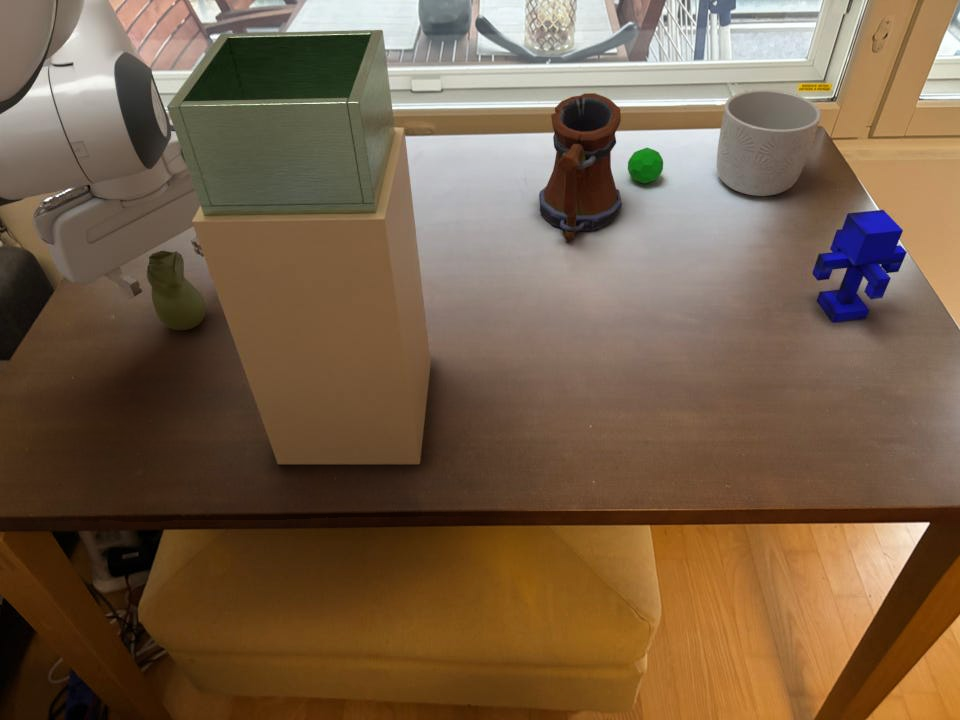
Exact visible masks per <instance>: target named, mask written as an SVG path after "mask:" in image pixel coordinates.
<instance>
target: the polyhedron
mask: <svg viewBox="0 0 960 720" xmlns="http://www.w3.org/2000/svg"><path fill="white" fill-rule="evenodd" d="M663 170H664V160H663V157H662V156H661V153H660V152H659V151H657V150H656V149H652V148H650V147H644V148H642V149H639V150H636V151H634V152H633V153H632V155H631V156H630V158H629V159H628V161H627V171H628V174H629V175H630V177H631V179H632V180H634V181H636V182H638V183H642V184H647V183H650V182H653V181H655V180H658V178H659V176H661V174H662V173H663Z"/></svg>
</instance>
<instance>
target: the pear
mask: <svg viewBox="0 0 960 720" xmlns="http://www.w3.org/2000/svg"><path fill="white" fill-rule="evenodd" d="M146 278H147V281H148V283H149V285H150V287H151V288H150V289H151V292H150V293H151V294H150V295H151V301H152V305H153V308H154V310H155V313H156V315H157V317H158V319H159V320H160V321H161V323H162V324H163V325H164V326H166V327H167V328H169V329H171V330H174V331H189V330H191V329H193V328H195V327H197V326H198V325H200V324H201V322H202V321H203V320H204V317H205V315H206V310H207V308H206V305H207V304H206V301H205V299H204V296H203V295H202V294H201V292H200V291H199V289H197V288H196V287H195V285H194V284H192V283H191V282H190V281H189V280H187V278H186V277H185V261H184V258H183V256H182V254H181V253H180V252H178V251H167V250H160V251H156V252H153V253H152V254H150V256H148V265H147V270H146Z"/></svg>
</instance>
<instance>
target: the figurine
mask: <svg viewBox="0 0 960 720" xmlns="http://www.w3.org/2000/svg"><path fill="white" fill-rule="evenodd" d="M903 232H904V230H903V228H902V227H901V226H900V225H899V224H897V222H896V221H895V220H894V219H893V218H892V217H891V216H890V215H889V214H888V213H887V212H886V211H885V210H884V209H876V210H867V211H866V210H865V211H856V212H847V213H846V217H845V219H844V222H843V224H842V228H841V229H836V231H835V234H834V236H833V239H832V243H831V245H830V248H829V250H830V252H821V253H818V255H817V258H816V260H815V264H814V267H813V269H812V273H811V274H812V276H813V277H814V278H815V279H816V281H826V280H830V279H831V275H832V273H833V271H834V270H842V269H846V270H845V273H844V275H843V278H842V281H841V283H840V286H839V288H838V289H831V290H823V291H819V292H818V294H817V298H816V302H817V303H818V305H819V306H820V308H821V309H822V310H823V312H824V313H825V315H826V316H827V317H828V319H829V320H830V321H831V323H838V322H839V323H840V322H848V321H858V320H866V319H867V317H868V314H869V312H870V308H869V307H868V306H867V305H866V303H865V302H864V300H862V298H861V296H860V295H859V294H858V292H859V289H860V285H861V284H862V281H863V278H864V279H865V280H866V281H867V284H866V286H865V288H864V291H863V292H864V294H865V295H866V296H867V297H868V299H869V300H878V299H883V298H884V295H885V293H886V290H887V288H888V286H889V283H890V282H891V279H892V277H890V275H889V274H891V273H893V274H894V273H899V271H900V269H901V267H902V264H903V262H904V260H905V258H906V256H907V253H908V252H907V251H906V249H905V248H904V247H903V246H902V245H900V244H899V241H900V239H901V237H902V234H903ZM898 244H899V245H898Z"/></svg>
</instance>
